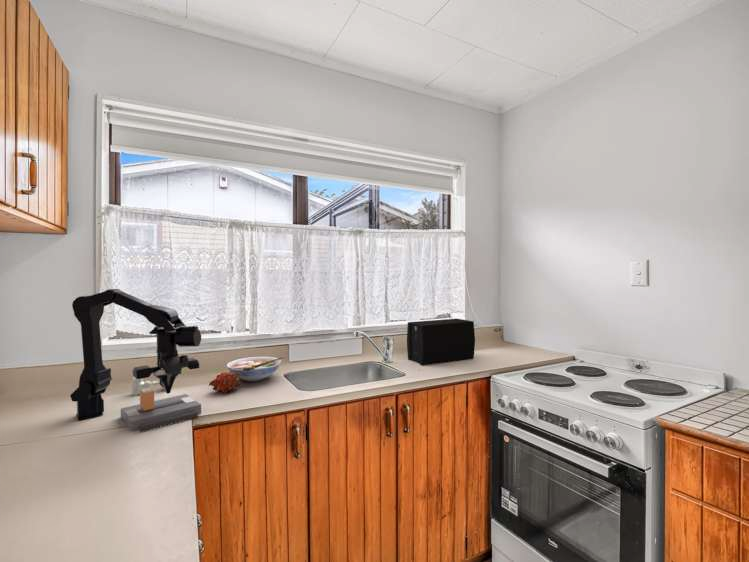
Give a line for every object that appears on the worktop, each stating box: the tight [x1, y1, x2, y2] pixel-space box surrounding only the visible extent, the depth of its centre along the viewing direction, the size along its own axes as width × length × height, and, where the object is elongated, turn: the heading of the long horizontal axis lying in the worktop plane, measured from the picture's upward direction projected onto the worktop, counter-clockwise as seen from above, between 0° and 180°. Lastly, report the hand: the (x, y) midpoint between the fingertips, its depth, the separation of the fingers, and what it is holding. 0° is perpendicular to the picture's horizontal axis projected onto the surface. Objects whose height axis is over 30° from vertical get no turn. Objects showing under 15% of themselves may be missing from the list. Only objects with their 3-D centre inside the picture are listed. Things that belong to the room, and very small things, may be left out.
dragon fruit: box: [208, 370, 242, 394], centre depth 147 cm, size 8×8×12 cm
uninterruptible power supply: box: [406, 318, 476, 367], centre depth 198 cm, size 16×34×20 cm, turn 114°
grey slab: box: [139, 411, 199, 433], centre depth 123 cm, size 16×20×2 cm
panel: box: [120, 393, 202, 432], centre depth 123 cm, size 20×15×3 cm
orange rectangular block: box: [139, 387, 155, 411], centre depth 120 cm, size 3×4×6 cm
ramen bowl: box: [226, 356, 285, 382], centre depth 163 cm, size 25×23×8 cm
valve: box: [131, 376, 164, 396], centre depth 147 cm, size 7×7×12 cm
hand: (168, 393), depth 124 cm, fingers closed
